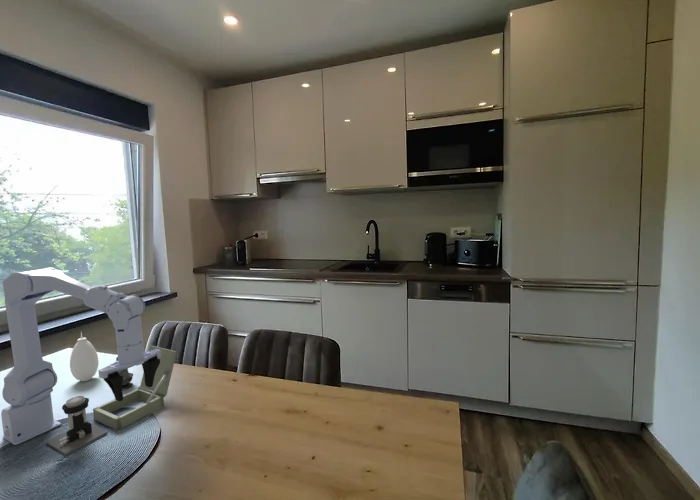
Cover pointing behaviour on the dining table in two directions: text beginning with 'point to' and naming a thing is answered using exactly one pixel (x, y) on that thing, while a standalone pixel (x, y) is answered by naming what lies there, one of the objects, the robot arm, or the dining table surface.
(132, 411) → the equipment case
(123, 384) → the grey tall tiered piece
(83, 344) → the sauce bottle
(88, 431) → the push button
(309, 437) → the dining table surface
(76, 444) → the mat
